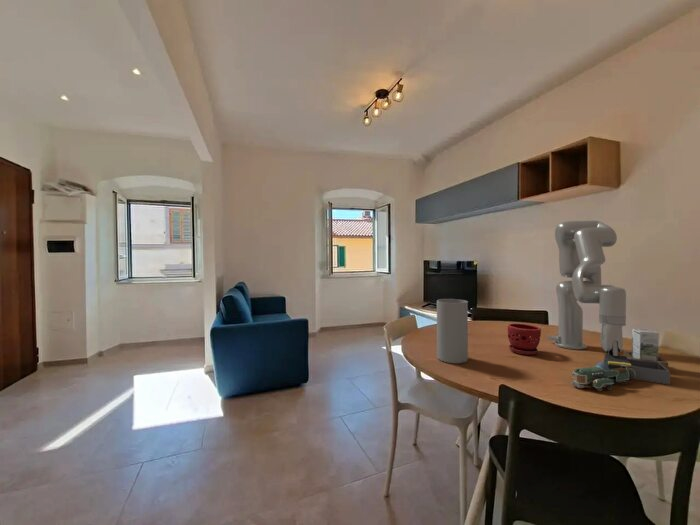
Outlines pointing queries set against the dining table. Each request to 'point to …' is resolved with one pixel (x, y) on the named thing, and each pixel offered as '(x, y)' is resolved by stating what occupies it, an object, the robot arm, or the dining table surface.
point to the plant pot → (524, 338)
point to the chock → (616, 361)
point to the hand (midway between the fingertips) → (612, 368)
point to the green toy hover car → (601, 376)
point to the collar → (660, 360)
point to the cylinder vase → (452, 330)
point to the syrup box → (645, 344)
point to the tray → (650, 371)
